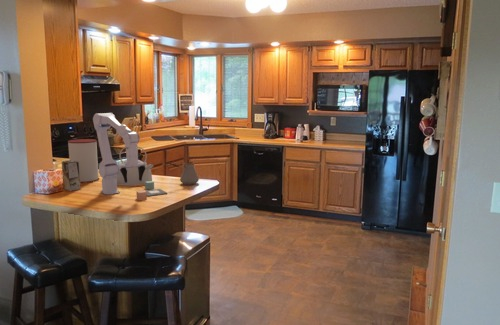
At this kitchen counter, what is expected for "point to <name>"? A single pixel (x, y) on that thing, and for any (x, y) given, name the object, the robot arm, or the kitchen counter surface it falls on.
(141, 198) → the top block
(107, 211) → the kitchen counter surface
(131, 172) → the kettle
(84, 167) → the container
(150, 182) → the base block
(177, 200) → the kitchen counter surface
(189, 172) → the coffee pot
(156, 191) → the grey flat square plate
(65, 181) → the coffee box
